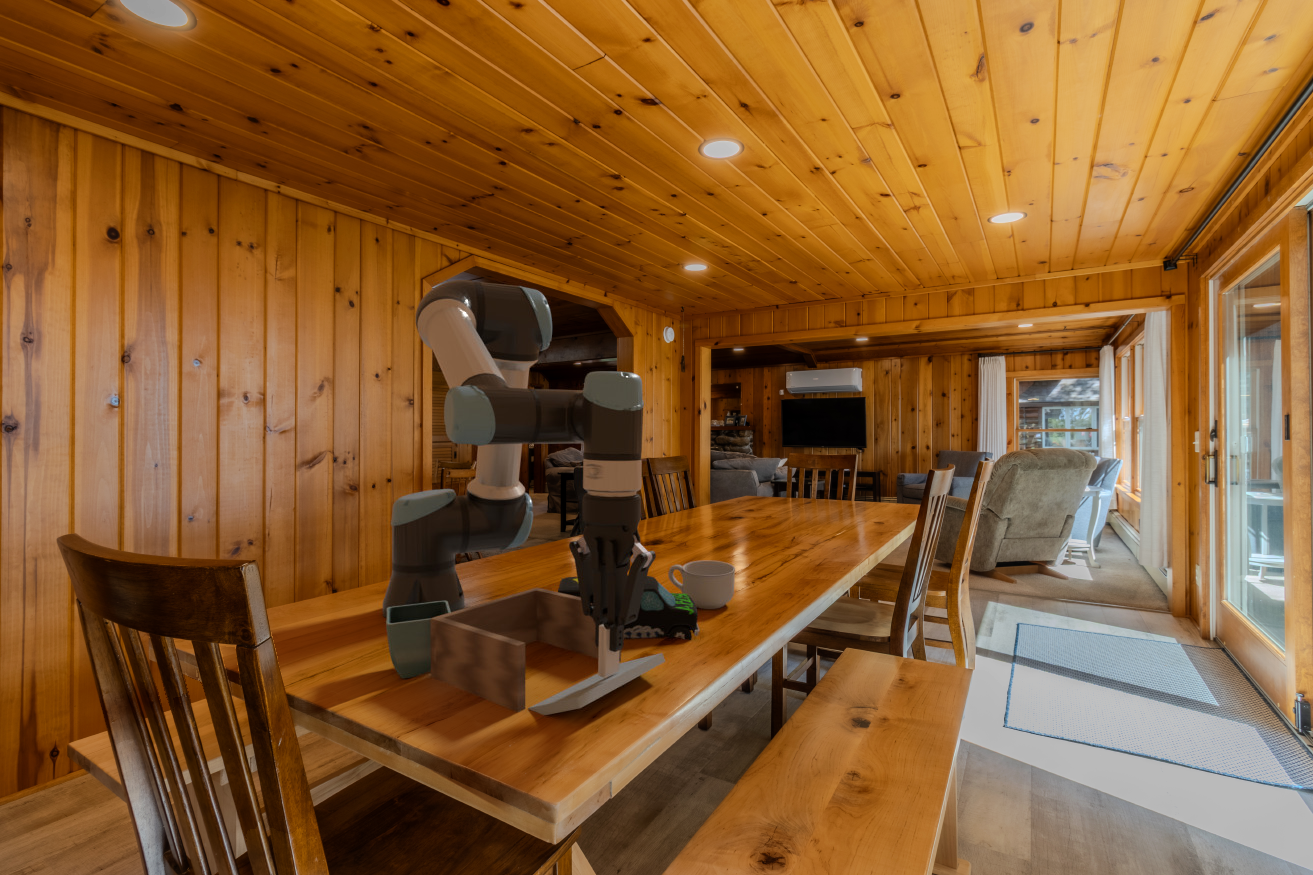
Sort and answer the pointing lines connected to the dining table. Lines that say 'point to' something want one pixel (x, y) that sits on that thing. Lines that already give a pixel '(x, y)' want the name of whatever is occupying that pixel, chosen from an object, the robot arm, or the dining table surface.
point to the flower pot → (412, 636)
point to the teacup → (706, 582)
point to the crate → (506, 642)
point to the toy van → (654, 611)
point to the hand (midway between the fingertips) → (608, 673)
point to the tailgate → (596, 686)
